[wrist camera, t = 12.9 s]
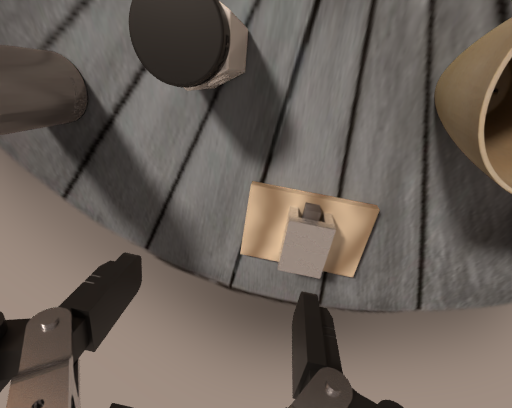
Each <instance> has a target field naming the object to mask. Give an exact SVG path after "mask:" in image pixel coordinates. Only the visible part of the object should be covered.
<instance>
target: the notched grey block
mask: <svg viewBox="0 0 512 408" xmlns="http://www.w3.org/2000/svg"><path fill="white" fill-rule="evenodd" d="M335 231H336V228H335V224H334V221H333V217H332V214H329V213H324V212H323V215H322V219H321V222H320V221H315V220H310V219H305V218H300V217H298V207H293V206H290V207H289V212H288V216H287V221H286V225H285V229H284V234H283V238H282V242H281V247H280V251H279V260H278V270H281V271H286V272H290V273H295V274H300V275H305V276H309V277H314V278H319V279H320V277H321V274H322V271H323V268H324V265H325V262H326V259H327V256H328V253H329V250H330V247H331V244H332V241H333V238H334V235H335Z"/></svg>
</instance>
